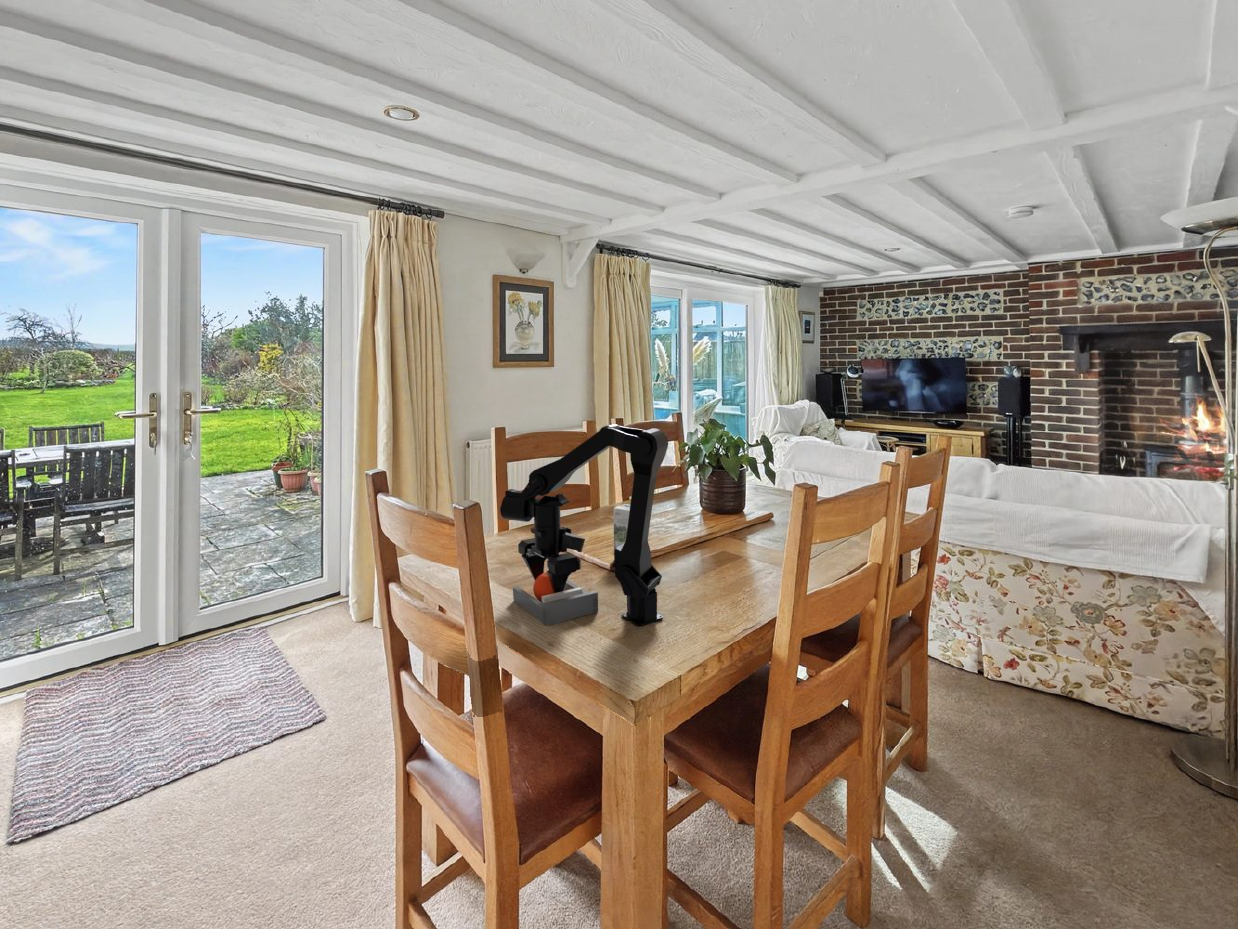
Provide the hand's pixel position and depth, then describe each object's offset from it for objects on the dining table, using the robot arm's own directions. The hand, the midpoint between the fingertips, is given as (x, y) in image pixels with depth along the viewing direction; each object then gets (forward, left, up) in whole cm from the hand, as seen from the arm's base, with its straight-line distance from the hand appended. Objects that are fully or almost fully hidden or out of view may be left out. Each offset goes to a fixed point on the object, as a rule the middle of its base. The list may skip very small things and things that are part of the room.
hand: (549, 591), depth 139 cm
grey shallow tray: (-3, 0, -2) cm, 4 cm away
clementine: (-1, 0, -3) cm, 3 cm away
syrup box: (+15, -32, -3) cm, 36 cm away
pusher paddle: (-6, 0, -2) cm, 7 cm away
